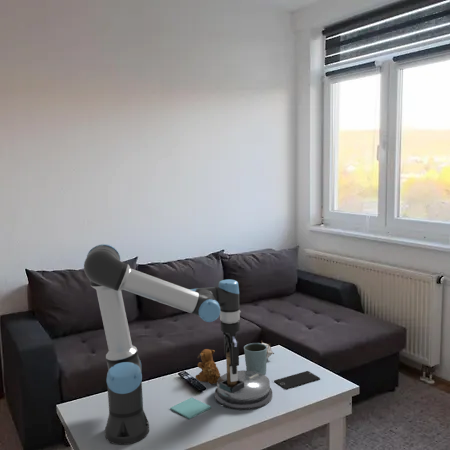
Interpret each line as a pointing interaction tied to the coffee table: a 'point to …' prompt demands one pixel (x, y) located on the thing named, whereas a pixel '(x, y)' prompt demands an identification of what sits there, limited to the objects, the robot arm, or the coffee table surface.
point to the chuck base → (243, 406)
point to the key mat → (190, 408)
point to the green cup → (256, 357)
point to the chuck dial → (244, 388)
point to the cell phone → (297, 380)
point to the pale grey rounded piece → (268, 350)
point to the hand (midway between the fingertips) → (232, 378)
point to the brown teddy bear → (208, 368)
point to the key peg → (229, 371)
